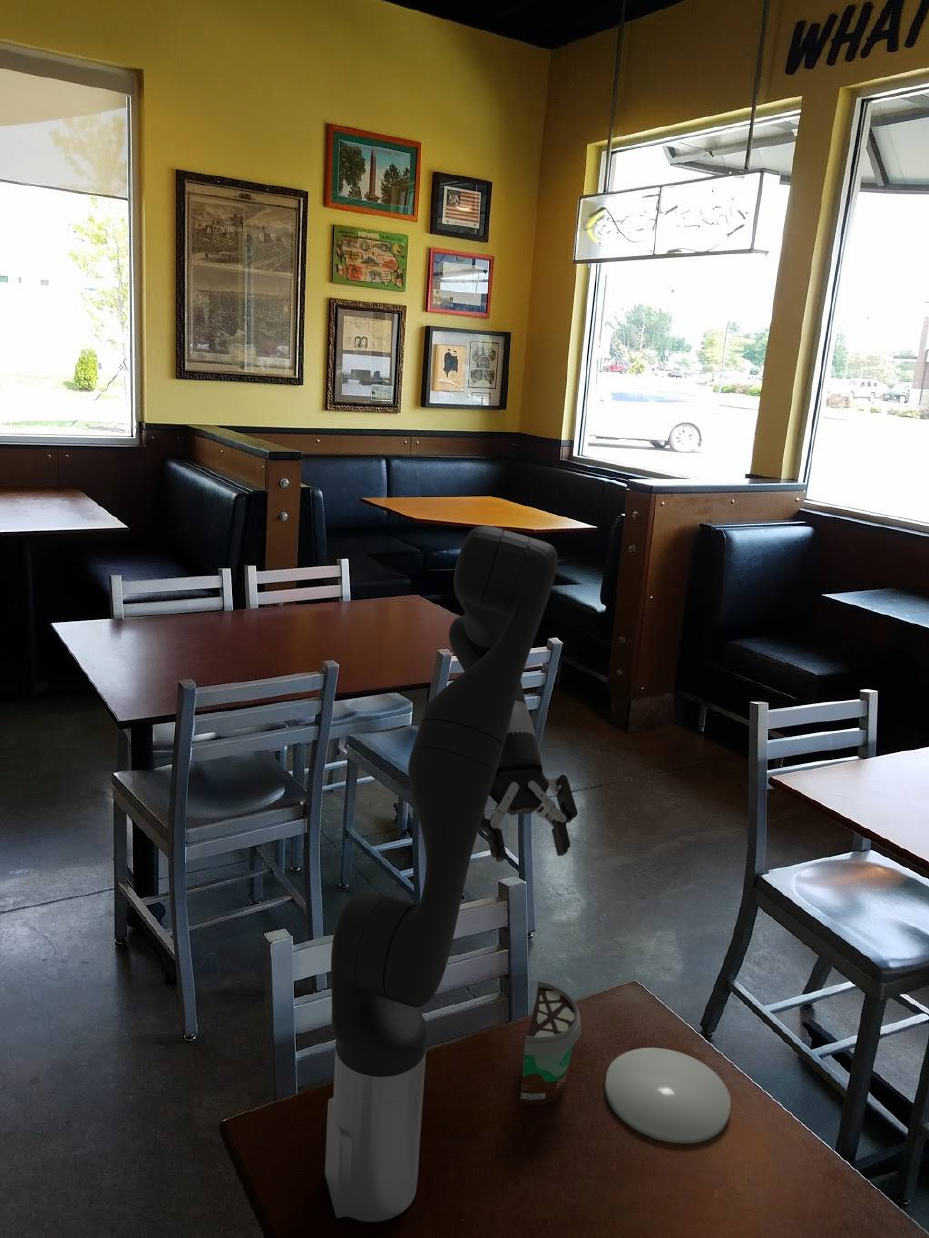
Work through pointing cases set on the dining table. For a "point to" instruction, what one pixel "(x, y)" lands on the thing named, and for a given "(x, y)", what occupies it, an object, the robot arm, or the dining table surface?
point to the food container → (549, 1045)
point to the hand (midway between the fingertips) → (532, 856)
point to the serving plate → (667, 1095)
